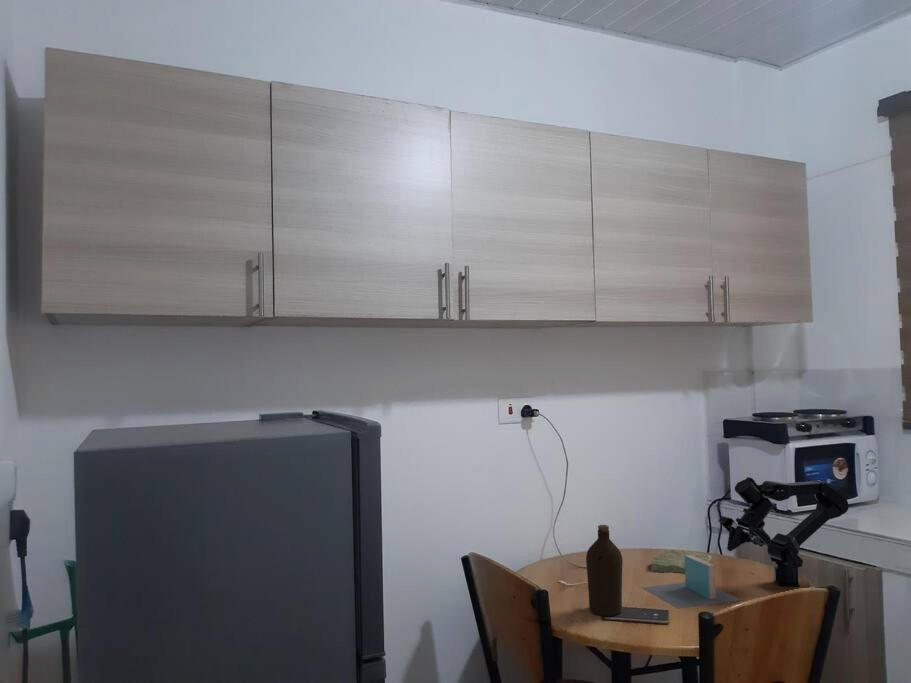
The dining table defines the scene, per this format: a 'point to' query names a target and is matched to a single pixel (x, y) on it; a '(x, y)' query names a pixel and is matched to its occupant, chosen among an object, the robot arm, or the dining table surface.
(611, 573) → the olive oil
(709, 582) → the tile
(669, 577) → the dining table surface
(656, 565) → the decorative tile
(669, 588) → the mat
